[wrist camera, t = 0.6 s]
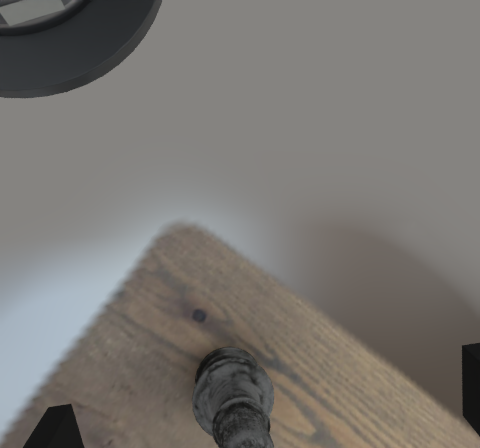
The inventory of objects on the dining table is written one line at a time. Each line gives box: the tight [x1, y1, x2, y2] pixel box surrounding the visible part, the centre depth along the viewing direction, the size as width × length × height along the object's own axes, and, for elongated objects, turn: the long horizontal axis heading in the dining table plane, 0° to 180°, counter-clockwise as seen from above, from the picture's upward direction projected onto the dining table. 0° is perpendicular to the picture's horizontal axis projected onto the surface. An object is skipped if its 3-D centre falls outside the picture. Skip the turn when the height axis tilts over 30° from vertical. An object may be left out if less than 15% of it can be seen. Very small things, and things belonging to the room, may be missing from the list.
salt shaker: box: [192, 347, 274, 448], centre depth 25 cm, size 6×6×12 cm
